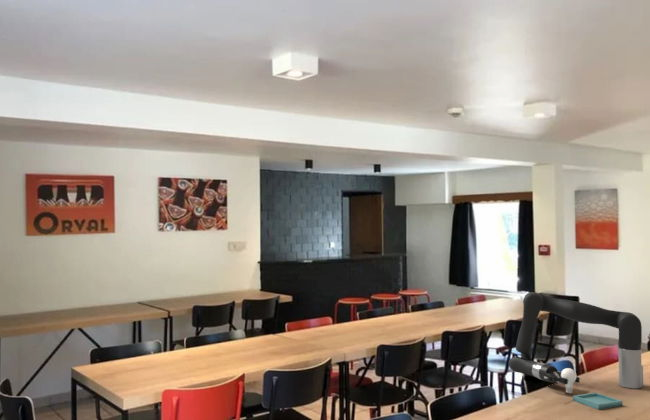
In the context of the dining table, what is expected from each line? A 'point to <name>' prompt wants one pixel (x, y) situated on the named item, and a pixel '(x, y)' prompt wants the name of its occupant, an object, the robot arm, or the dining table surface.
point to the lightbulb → (569, 378)
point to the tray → (597, 400)
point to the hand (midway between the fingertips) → (573, 381)
